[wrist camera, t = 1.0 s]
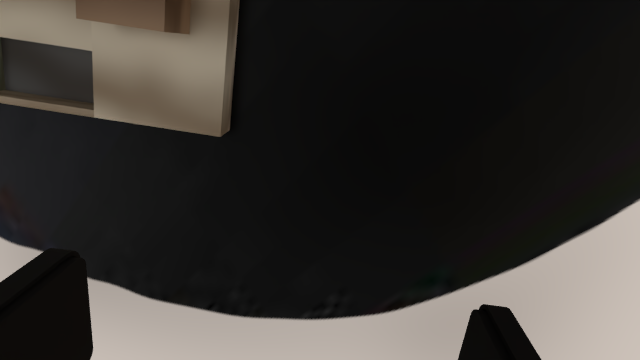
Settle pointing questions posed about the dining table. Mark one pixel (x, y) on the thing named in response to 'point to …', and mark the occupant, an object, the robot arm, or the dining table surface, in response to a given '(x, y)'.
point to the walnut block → (138, 13)
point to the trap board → (120, 65)
